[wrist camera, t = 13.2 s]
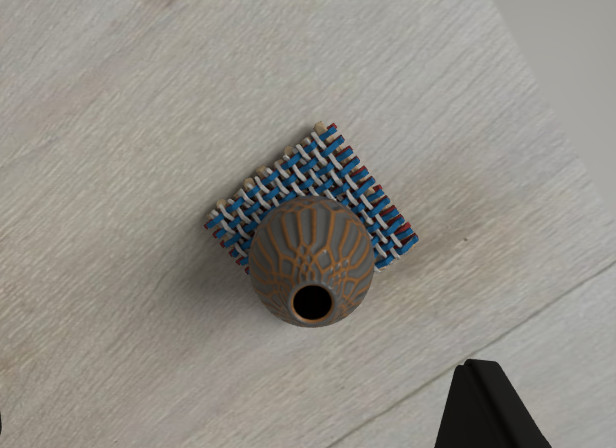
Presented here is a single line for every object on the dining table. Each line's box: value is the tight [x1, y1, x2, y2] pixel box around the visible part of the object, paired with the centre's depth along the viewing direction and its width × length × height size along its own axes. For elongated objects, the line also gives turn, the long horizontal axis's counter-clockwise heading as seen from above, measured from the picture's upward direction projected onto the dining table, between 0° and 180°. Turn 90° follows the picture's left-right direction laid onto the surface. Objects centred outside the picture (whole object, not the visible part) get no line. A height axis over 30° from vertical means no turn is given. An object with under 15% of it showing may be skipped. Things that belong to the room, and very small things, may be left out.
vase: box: [249, 195, 374, 328], centre depth 27 cm, size 7×7×9 cm
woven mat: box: [203, 121, 419, 275], centre depth 32 cm, size 10×11×2 cm
